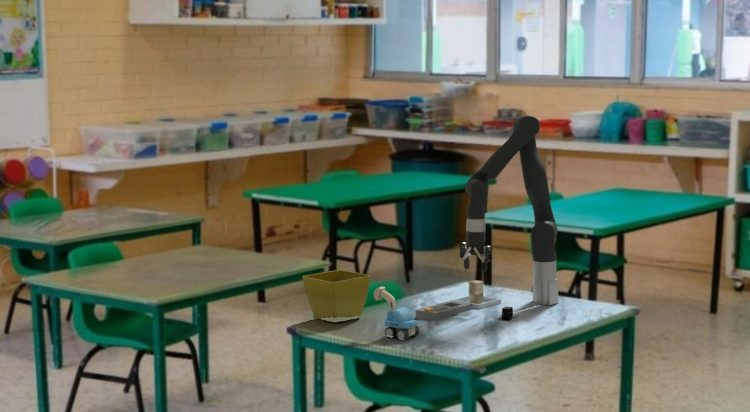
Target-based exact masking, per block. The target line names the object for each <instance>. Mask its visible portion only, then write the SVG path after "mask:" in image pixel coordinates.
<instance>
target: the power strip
mask: <svg viewBox="0 0 750 412" xmlns="http://www.w3.org/2000/svg"><path fill="white" fill-rule="evenodd" d="M471 310H473V308H472V304H470V303H464V302H458V301H451V300H449V301H448V300H447V301H446V302H445V301H444V302H441V303H436V304H433V305H430V306H426V307H421V308H418V309H415V310H414V311H415V314H414V315H415V316H414V317H418V318H417V319H420V318H422V320H426V321H433V322H437V321H442V320H445V319H446V320H447V319H449V318H453V317H456V316H458V314H461V313H464V312H465V313H466V312H467V311H471Z"/></svg>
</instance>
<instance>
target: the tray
mask: <svg viewBox="0 0 750 412" xmlns="http://www.w3.org/2000/svg"><path fill="white" fill-rule="evenodd" d="M450 301H458V302H464V303H469V295H467V296H463V297H459V298H455V299H450ZM470 304H472V309H476V310H482V309H486V308H490V307H493V306H496V305H500V304H502V298H496V297H490V296H484V295H483V303H482V304H474V303H470Z"/></svg>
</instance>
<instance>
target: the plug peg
mask: <svg viewBox="0 0 750 412" xmlns="http://www.w3.org/2000/svg"><path fill="white" fill-rule="evenodd" d="M468 296H469V303H474V304H482V303H483V296H484V280H476V279H475V280H470V281H468Z"/></svg>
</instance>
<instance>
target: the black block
mask: <svg viewBox="0 0 750 412" xmlns="http://www.w3.org/2000/svg"><path fill="white" fill-rule="evenodd" d="M518 317H519V315H514V309H513V306H504V307H501V317H499V318H497V319H496V321H502V322H503V321H504V322H510V321H513V320H514V319H516V318H518Z"/></svg>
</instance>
